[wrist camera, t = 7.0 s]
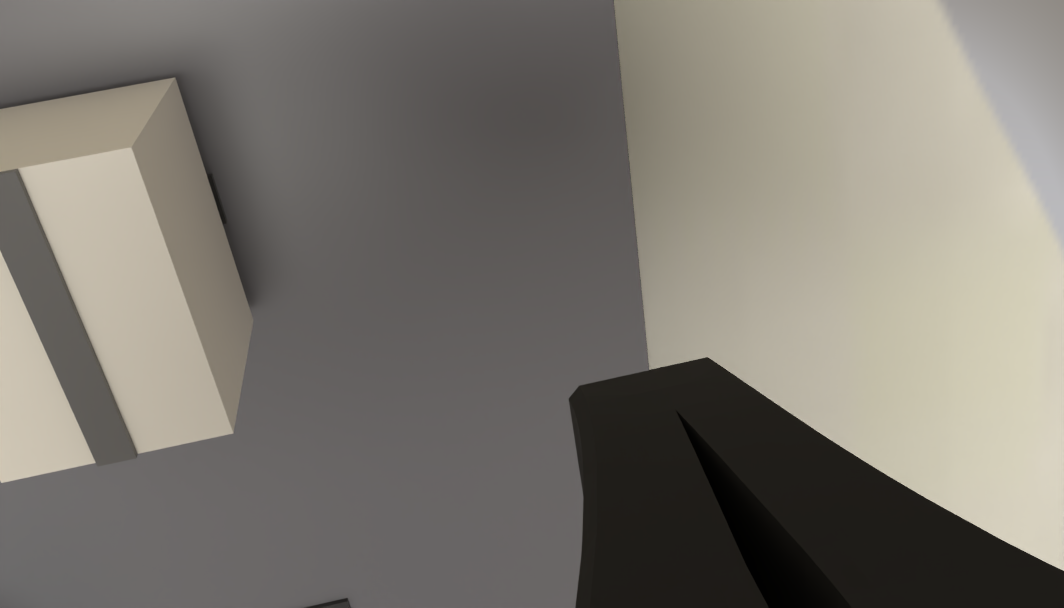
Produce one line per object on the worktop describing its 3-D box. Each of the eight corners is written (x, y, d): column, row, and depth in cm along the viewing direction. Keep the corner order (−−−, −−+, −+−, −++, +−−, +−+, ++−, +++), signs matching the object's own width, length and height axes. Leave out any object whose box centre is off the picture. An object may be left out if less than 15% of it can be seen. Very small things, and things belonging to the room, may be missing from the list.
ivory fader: (253, 320, 15) (232, 437, 13) (64, 358, 15) (-1, 488, 12) (175, 77, 14) (129, 149, 11) (-43, 116, 13) (-150, 202, 10)
